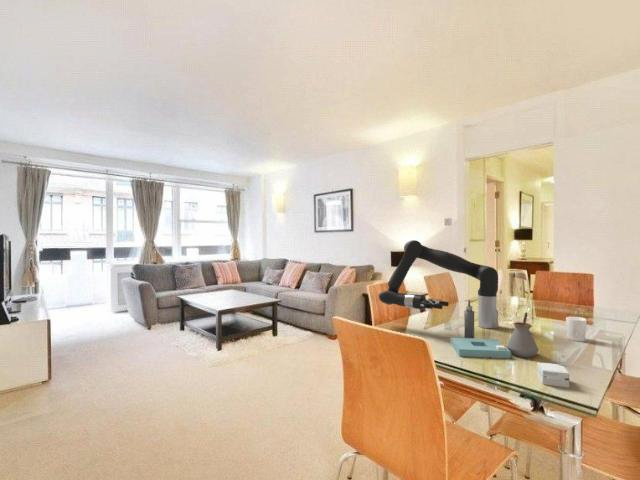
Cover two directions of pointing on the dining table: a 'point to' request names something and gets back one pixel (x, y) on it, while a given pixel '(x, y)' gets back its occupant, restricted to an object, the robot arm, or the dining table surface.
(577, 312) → the dining table surface
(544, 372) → the small box
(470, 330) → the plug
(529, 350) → the coffee pot
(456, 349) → the socket plate
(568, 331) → the white cup
